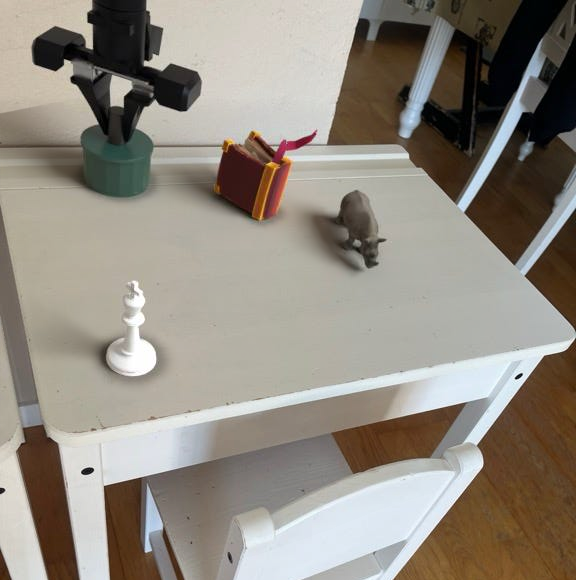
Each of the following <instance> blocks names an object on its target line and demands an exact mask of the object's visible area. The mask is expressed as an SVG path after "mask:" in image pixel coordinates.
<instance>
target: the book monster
mask: <svg viewBox="0 0 576 580" xmlns="http://www.w3.org/2000/svg"><path fill="white" fill-rule="evenodd" d="M318 131H319V130H318V129H315V130H314V131H313V132H312V134H309V135H306V136H303V137H301V138H298V139H296V140H288V141H287V139H286V138H285V139H283V140H281V142H280V144H279V146H278V148H277V150H275V149H274V148H272V147H271V146H270V144H268V143H267V142H266V141H265V140H264V139H263V138H262V137H261V134H260V132H258V131H255V130H250V132H249V134H248V136H247V138H246V139H245V140H244V144H243V145H242V144H241V143H238V144H237V143H235V141H233V140H232V139H230V138H227V139H226V138H225V139H223V143H222V145H221V150H222V154H221V157H220V162H219V165H218V169H217V175H216V182H214V185H213V187H214V188H213V189H214V193H216V194H217V195H222V196H223V197H224V198H226V199H227V200H229V201H230V202H231V203H233V204H235V205H236V206H237V207H239V208H241V209H243V210H244V211H247V212H249V213H251V218H253V219H256V220H258V221H261V220H268V219H270V218H272V217H274V216H276V215H277V212H278V211H279V208H280V205H281V201H282V198H283V195H284V191H285V188H286V185H287V181H288V178H289V176H290V172H291V168H292V165H293V160H291V159H290V158H289V157H288V156H285V154H286V152H288V151H295V150H298V149H301V148H303V147H305V146H306V145H309V144H310V143H312V141H313V140H314V139H315V138H316V136H317V135H318V134H317V132H318Z"/></svg>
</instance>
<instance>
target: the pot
mask: <svg viewBox="0 0 576 580" xmlns="http://www.w3.org/2000/svg"><path fill="white" fill-rule="evenodd" d="M151 167H152V155H151V156H150V157H149V158H147V159H145V160H143V161H140V162H136V163H128V164H121V163H112V162H107V161H104V160H101V159H98V158H96V157H94V156H92V155H90V154H89V153H88V152H86V151H85V150H84V148H83V147H82V171H83V178H84V181H85V183H86V185H87V186H88V187H89V188H90V189H92V190H93V191H95V192H97V193H99V194H101V195H104V196H108V197H111V198H112V197H113V198H132V197H135V196H136V197H137V196H139V195H142V194H143V193H144V192H146V191H147V190H148V188H149V187H150V180H151Z"/></svg>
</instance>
